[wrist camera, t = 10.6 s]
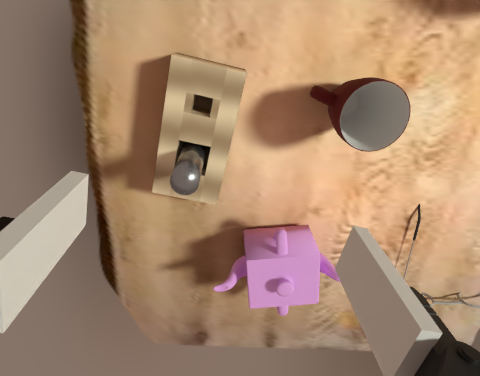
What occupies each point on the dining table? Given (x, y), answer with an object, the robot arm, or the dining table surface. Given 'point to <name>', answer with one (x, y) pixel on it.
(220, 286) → the teapot
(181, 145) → the block
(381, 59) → the dining table surface
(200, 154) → the pin
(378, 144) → the mug
